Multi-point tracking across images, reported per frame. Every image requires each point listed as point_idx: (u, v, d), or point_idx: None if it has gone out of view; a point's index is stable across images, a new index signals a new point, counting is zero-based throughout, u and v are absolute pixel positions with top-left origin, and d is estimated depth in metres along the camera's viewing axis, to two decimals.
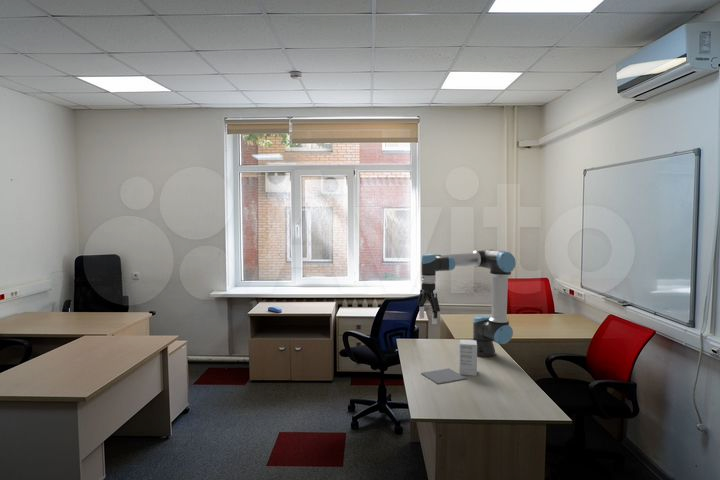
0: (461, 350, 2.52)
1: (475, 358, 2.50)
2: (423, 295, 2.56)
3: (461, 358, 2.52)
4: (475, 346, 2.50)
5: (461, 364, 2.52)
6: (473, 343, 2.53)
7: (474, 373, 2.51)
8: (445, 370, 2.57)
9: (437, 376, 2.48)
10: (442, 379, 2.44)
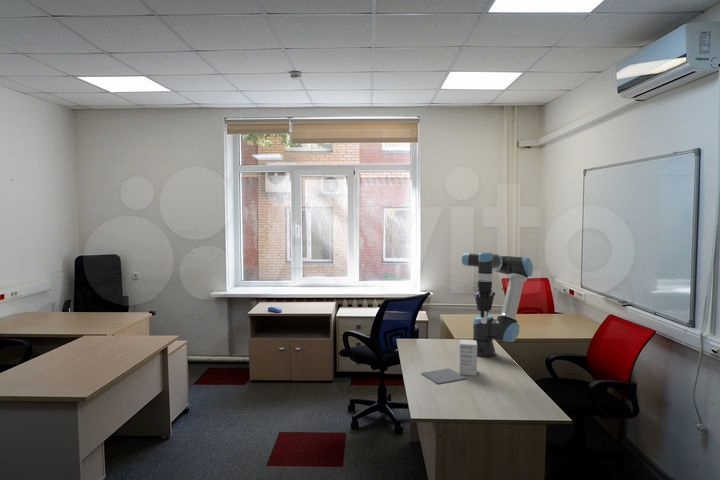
0: (461, 350, 2.52)
1: (475, 358, 2.50)
2: None
3: (461, 358, 2.52)
4: (475, 346, 2.50)
5: (461, 364, 2.52)
6: (473, 343, 2.53)
7: (474, 373, 2.51)
8: (445, 370, 2.57)
9: (437, 376, 2.48)
10: (442, 379, 2.44)
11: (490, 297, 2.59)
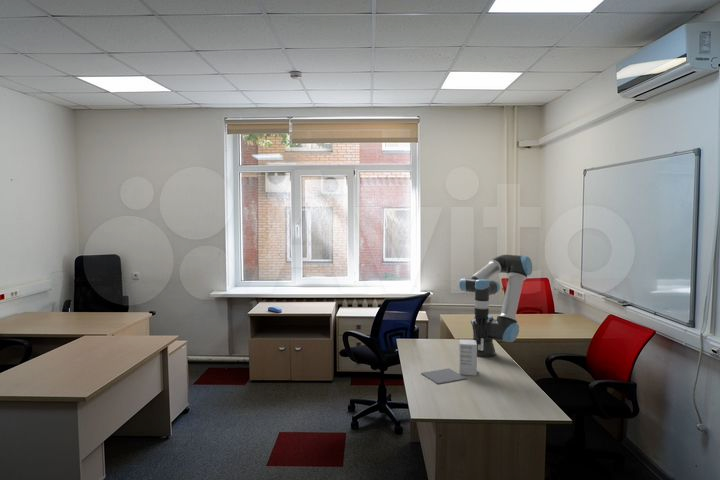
0: (461, 350, 2.52)
1: (475, 358, 2.50)
2: None
3: (461, 358, 2.52)
4: (475, 346, 2.50)
5: (461, 364, 2.52)
6: (473, 343, 2.53)
7: (474, 373, 2.51)
8: (445, 370, 2.57)
9: (437, 376, 2.48)
10: (442, 379, 2.44)
11: (487, 324, 2.59)
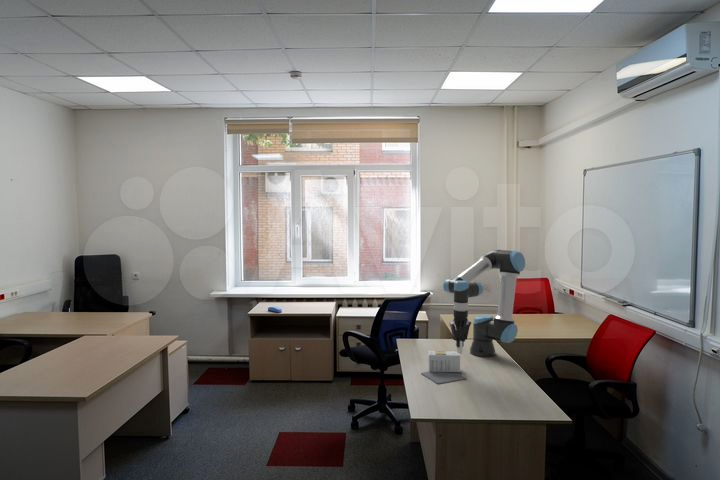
0: (435, 370, 2.55)
1: (442, 356, 2.54)
2: None
3: (443, 370, 2.54)
4: (430, 356, 2.55)
5: (449, 370, 2.54)
6: None
7: (457, 357, 2.53)
8: None
9: (437, 376, 2.48)
10: (442, 379, 2.44)
11: (466, 326, 2.54)
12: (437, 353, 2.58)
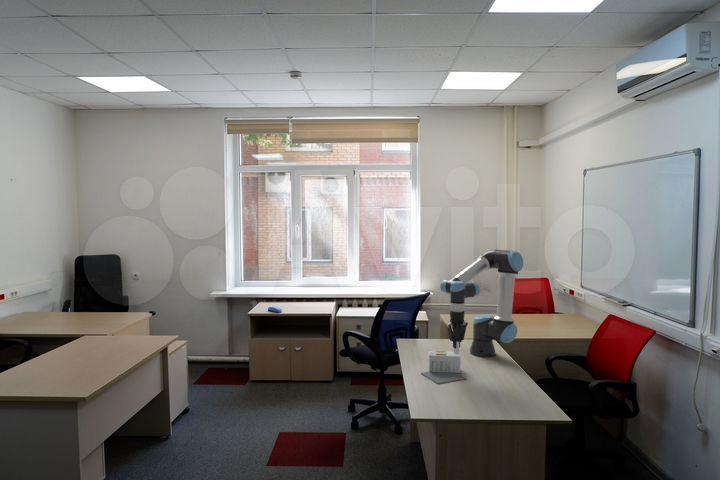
0: (435, 370, 2.55)
1: (443, 357, 2.54)
2: None
3: (443, 370, 2.54)
4: (430, 357, 2.54)
5: (449, 370, 2.54)
6: None
7: (458, 358, 2.52)
8: None
9: (437, 376, 2.48)
10: (442, 379, 2.44)
11: (463, 327, 2.53)
12: (437, 353, 2.57)
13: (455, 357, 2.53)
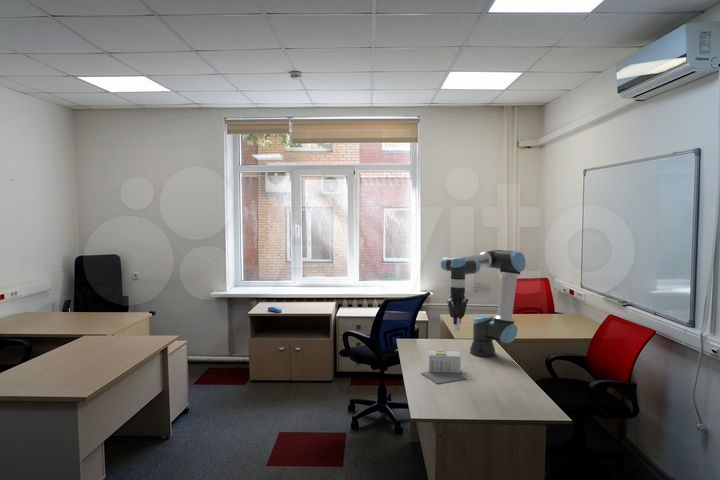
0: (435, 370, 2.55)
1: (443, 357, 2.54)
2: None
3: (443, 370, 2.54)
4: (430, 357, 2.54)
5: (449, 370, 2.54)
6: None
7: (458, 358, 2.52)
8: None
9: (437, 376, 2.48)
10: (442, 379, 2.44)
11: (463, 303, 2.52)
12: (437, 353, 2.57)
13: (455, 357, 2.53)
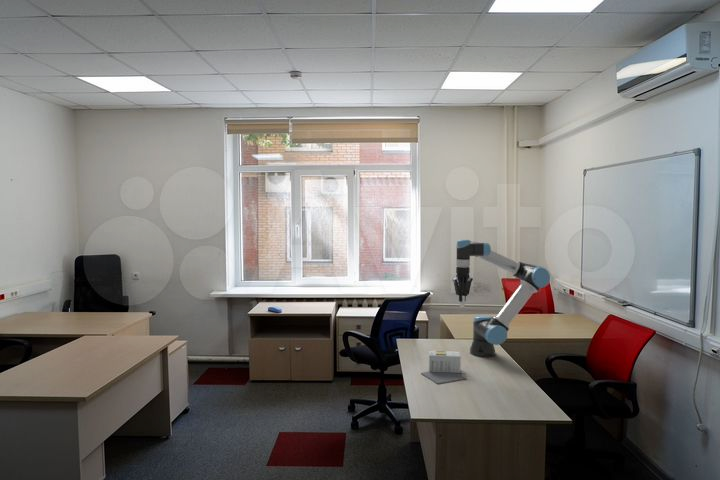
0: (435, 370, 2.55)
1: (443, 357, 2.54)
2: None
3: (443, 370, 2.54)
4: (430, 357, 2.54)
5: (449, 370, 2.54)
6: None
7: (458, 358, 2.52)
8: None
9: (437, 376, 2.48)
10: (442, 379, 2.44)
11: (468, 282, 2.72)
12: (437, 353, 2.57)
13: (455, 357, 2.53)
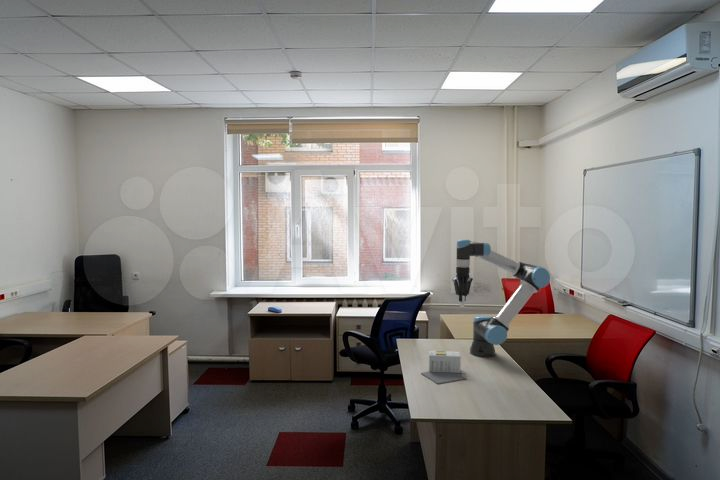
0: (435, 370, 2.55)
1: (443, 357, 2.54)
2: None
3: (443, 370, 2.54)
4: (430, 357, 2.54)
5: (449, 370, 2.54)
6: None
7: (458, 358, 2.52)
8: None
9: (437, 376, 2.48)
10: (442, 379, 2.44)
11: (468, 282, 2.72)
12: (437, 353, 2.57)
13: (455, 357, 2.53)
